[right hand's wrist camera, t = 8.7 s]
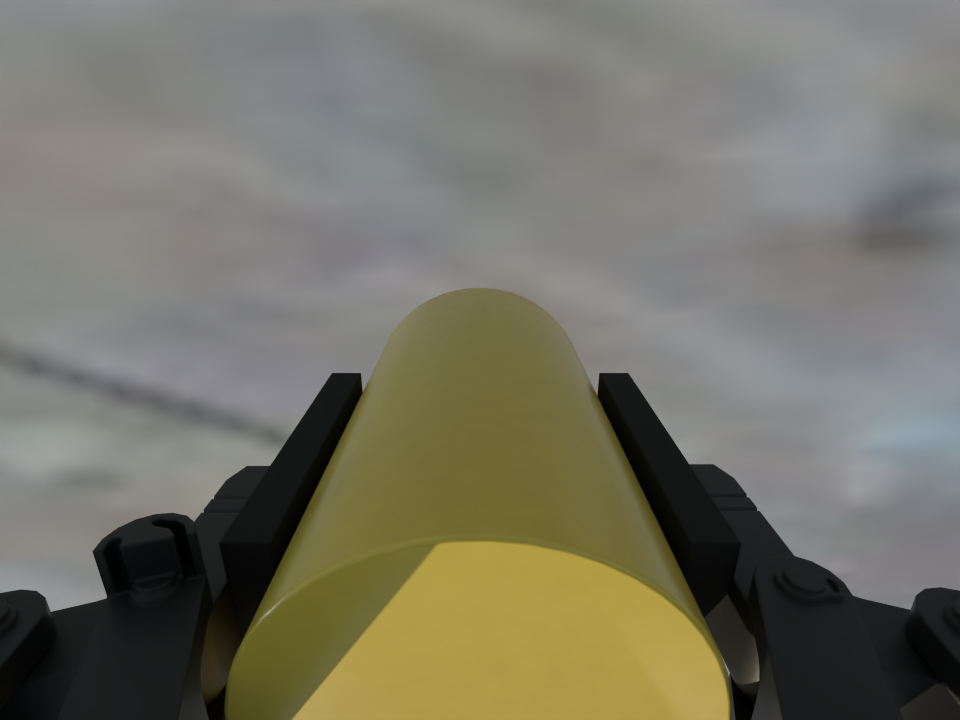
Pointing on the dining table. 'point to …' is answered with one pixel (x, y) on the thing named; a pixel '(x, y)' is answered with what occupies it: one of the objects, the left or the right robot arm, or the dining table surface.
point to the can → (478, 549)
